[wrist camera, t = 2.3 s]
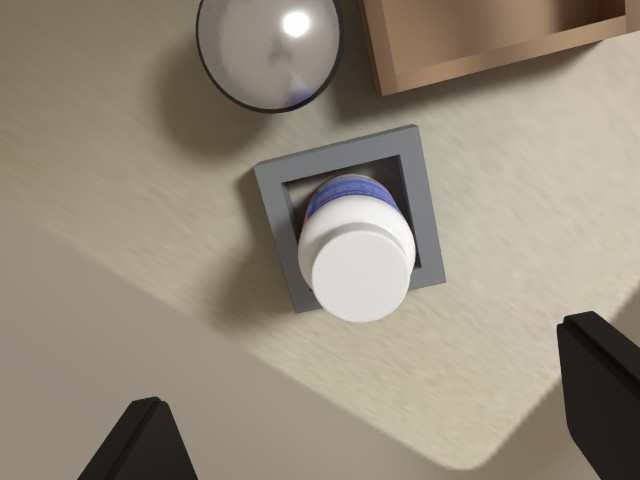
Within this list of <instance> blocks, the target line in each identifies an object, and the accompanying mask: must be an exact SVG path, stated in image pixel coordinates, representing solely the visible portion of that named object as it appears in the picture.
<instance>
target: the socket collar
mask: <svg viewBox="0 0 640 480" xmlns="http://www.w3.org/2000/svg"><path fill="white" fill-rule="evenodd" d="M395 155H396V156H397V161H398V166H399V171H400V176H401V181H402V186H403V191H404V196H405V201H406V207H407V212H408V217H409V222H410V227H411V232H412V235H413V238H414V243H415V252H416V256H415V262H414V266H413V270H412V273H411V275H410V282H409V287H408V290H413V289H418V288H422V287H427V286H432V285H437V284H442V283H446V278H445V272H444V266H443V261H442V255H441V250H440V244H439V238H438V233H437V227H436V222H435V216H434V211H433V205H432V199H431V194H430V188H429V183H428V177H427V171H426V166H425V160H424V155H423V149H422V144H421V138H420V132H419V127H418V126H417V125H414V124H411V125H407V126H403V127H399V128H395V129H391V130H387V131H383V132H378V133H374V134H370V135H366V136H362V137H358V138H354V139H350V140H346V141H342V142H338V143H334V144H330V145H326V146H322V147H318V148H314V149H310V150H306V151H302V152H298V153H294V154H290V155H286V156H282V157H278V158H274V159H270V160H265V161H261V162H259V163H258V164H256V165H255V166H254V167H253V168H254V171H255V175H256V178H257V182H258V185H259V189H260V192H261V195H262V199H263V202H264V206H265V209H266V213H267V216H268V220H269V223H270V227H271V230H272V234H273V237H274V241H275V244H276V247H277V251H278V254H279V258H280V261H281V265H282V268H283V272H284V275H285V279H286V282H287V286H288V289H289V293H290V296H291V299H292V303H293V306H294V310H295V313H296V314H297V313H301V312H306V311H311V310H316V309H321V308H323V307H322V306H321V305H320V303H319V302H318V300H317V299H316V297H315V295H314V293H313V290H312V289H311V288H310V287H309V285H308V284H307V282H306V281H305V279H304V277H303V275H302V273H301V270H300V266H299V261H298V246H299V240H300V232H299V228H298V225H297V221H296V217H295V213H294V210H293V206H292V202H291V199H290V195H289V191H288V188H287V184H286V182H287V181H291V180H295V179H299V178H303V177H307V176H312V175H316V174H320V173H324V172H328V171H332V170H336V169H341V168H345V167H349V166H353V165H357V164H361V163H365V162H370V161H374V160H378V159H382V158H386V157H390V156H395ZM408 290H407V291H408Z"/></svg>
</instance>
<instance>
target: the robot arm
mask: <svg viewBox="0 0 640 480" xmlns="http://www.w3.org/2000/svg"><path fill="white" fill-rule="evenodd" d="M557 339H558V348H559V357H560V366H561V375H562V384H563V393H564V401H565V411H566V420H567V426H568V429H569V432H570V434H571V437H572V438H573V440H574V442H575V443H576V445H577V446H578V447H579V449H580V450H581V451H582V453H583V455H584V456H585V457H586V459H587V460H588V462H589V463H590V464H591V466H592V467H593V469H594V470H595V472H596V473H597V474H598V476H599V477H600V479H601V480H640V348H639V347H638V346H637V345H635V344H634V343H633V342H632V341H630V340H629V339H628V338H627V337H625V336H624V335H623V334H622V333H620V332H619V331H618V330H617V329H615V328H614V327H613V326H612V325H611V324H609V323H608V322H607V321H606V320H604V319H603V318H602V317H601V316H599V315H598V314H597V313H595V312H594V311H589V312H583V313H578V314H573V315H568V316H565V317H564V320H563V323H562V324H558V325H557ZM77 480H198V478H197V476H196V473H195V471H194V468H193V466H192V463H191V461H190V458H189V456H188V453H187V450H186V448H185V445H184V443H183V440H182V438H181V436H180V433H179V430H178V428H177V425H176V423H175V420H174V418H173V415H172V413H171V410H170V408H169V405H168V404H167V403H166V402H165V401H161V400H160V399H159V398H158V397H151V398H145V399H140V400H135V401H132V403H131V404H130V405H129V406H128V407H127V409H126V410H125V412H124V413H123V415H122V416H121V418H120V419H119V421H118V422H117V423H116V425H115V426H114V428H113V429H112V431H111V432H110V433H109V435H108V436H107V438H106V439H105V441H104V442H103V443H102V445H101V446H100V448H99V449H98V450H97V452H96V453H95V455H94V456H93V458H92V459H91V461H90V462H89V463H88V465H87V466H86V468H85V469H84V471H83V472H82V474H81V475H80V476H79V478H78V479H77Z"/></svg>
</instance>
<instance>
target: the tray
mask: <svg viewBox="0 0 640 480" xmlns="http://www.w3.org/2000/svg"><path fill="white" fill-rule="evenodd" d="M358 2H359V7H360V12H361V17H362V22H363V27H364V32H365V37H366V42H367V47H368V52H369V57H370V62H371V67H372V72H373V77H374V82H375V87H376V92H377V97H381V96H386V95H390V94H393V93H397V92H401V91H405V90H409V89H413V88H417V87H421V86H425V85H429V84H432V83H436V82H440V81H444V80H448V79H452V78H456V77H460V76H464V75H467V74H471V73H475V72H479V71H483V70H487V69H491V68H495V67H499V66H503V65H506V64H510V63H514V62H518V61H522V60H526V59H530V58H534V57H538V56H542V55H545V54H549V53H553V52H557V51H561V50H565V49H569V48H573V47H577V46H581V45H584V44H588V43H592V42H596V41H600V40H604V39H608V38H612V37H616V36H619V35H623V34H627V33H631V32H635V31H639V30H640V0H358Z"/></svg>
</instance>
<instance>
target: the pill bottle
mask: <svg viewBox="0 0 640 480" xmlns="http://www.w3.org/2000/svg"><path fill="white" fill-rule="evenodd" d="M298 261H299V266H300V270H301V273H302V275H303V277H304V279H305V281H306V282H307V284H308V285H309V287H310V288H311V289H312V290H313V293H314V295H315V297H316V299H317V300H318V302H319V303H320V305H321V306H322V307H323V308H324V309H325V310H326V311H328V312H329V313H330V314H332V315H333V316H335V317H337V318H339V319H342V320H345V321H348V322H355V323H365V322H371V321H375V320H378V319H381V318H383V317H385V316H387V315H388V314H390V313H391V312H392V311H393V310H395V309H396V308H397V307H398V306H399V304H400V303H401V302H402V300H403V299H404V297H405V295H406V293H407V290H408V287H409V282H410V275H411V273H412V270H413V266H414V262H415V243H414V238H413V235H412V232H411V230H410V228H409V226H408V224H407V222H406V220H405V218H404V217H403V215H402V214H401V212H400V210H399V208H398V207H397V205H396V203H395V201H394V199H393V198H392V196H391V194H390V193H389V192H388V190H387V189H386V188H385V187H384V186H383V185H382V184H380V183H379V182H378V181H376V180H374V179H372V178H370V177H367V176H364V175H359V174H344V175H340V176H336V177H334V178H332V179H330V180H328V181H326V182H325V183H324V184H322V185H321V186H320V187H319V188H318V189H317V191H316V192H315V193H314V195H313V196H312V198H311V200H310V202H309V205H308V208H307V212H306V216H305V220H304V224H303V228H302V232H301V236H300V240H299V246H298Z"/></svg>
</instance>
